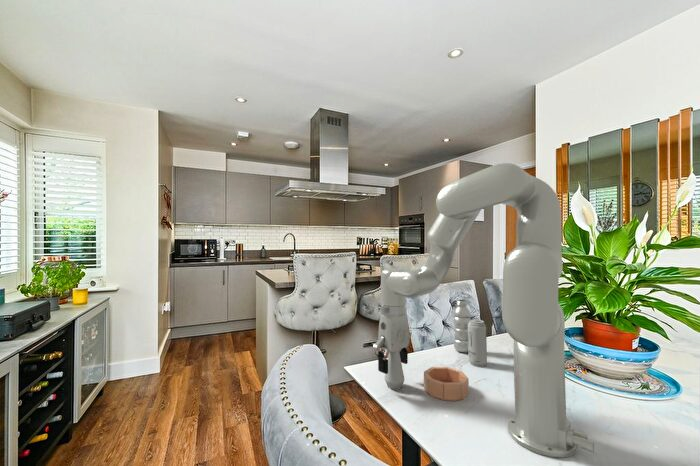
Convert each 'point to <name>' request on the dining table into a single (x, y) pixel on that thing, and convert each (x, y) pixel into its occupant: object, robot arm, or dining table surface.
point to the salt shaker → (394, 371)
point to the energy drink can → (477, 343)
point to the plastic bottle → (461, 326)
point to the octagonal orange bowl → (446, 383)
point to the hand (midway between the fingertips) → (393, 367)
